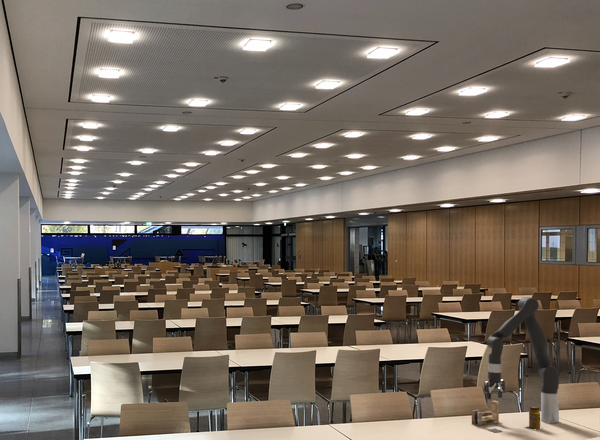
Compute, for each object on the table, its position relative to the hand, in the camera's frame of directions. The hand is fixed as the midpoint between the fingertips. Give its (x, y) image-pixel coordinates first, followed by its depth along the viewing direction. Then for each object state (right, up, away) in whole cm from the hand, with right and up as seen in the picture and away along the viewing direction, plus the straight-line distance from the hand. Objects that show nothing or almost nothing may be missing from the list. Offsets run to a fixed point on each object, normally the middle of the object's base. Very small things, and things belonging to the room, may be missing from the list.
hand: (494, 398), depth 373 cm
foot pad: (-5, -13, -17) cm, 22 cm away
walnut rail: (-6, -14, 0) cm, 15 cm away
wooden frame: (-5, -13, -3) cm, 15 cm away
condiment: (+19, -14, -11) cm, 26 cm away
